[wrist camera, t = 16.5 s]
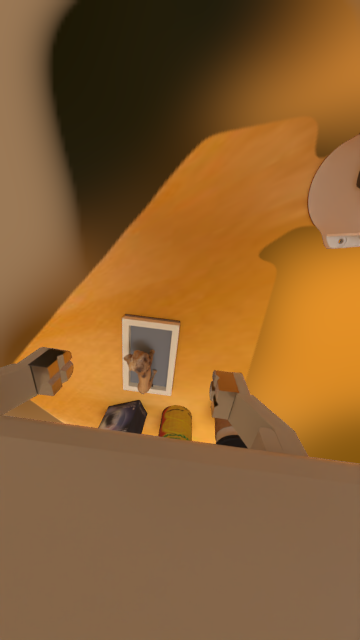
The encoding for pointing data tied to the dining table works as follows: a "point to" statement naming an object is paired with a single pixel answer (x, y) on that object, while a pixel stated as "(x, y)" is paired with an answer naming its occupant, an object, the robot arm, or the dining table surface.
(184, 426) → the yellow food can
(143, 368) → the lion figurine
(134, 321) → the picture frame
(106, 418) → the small box
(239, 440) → the coffee cup
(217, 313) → the dining table surface
